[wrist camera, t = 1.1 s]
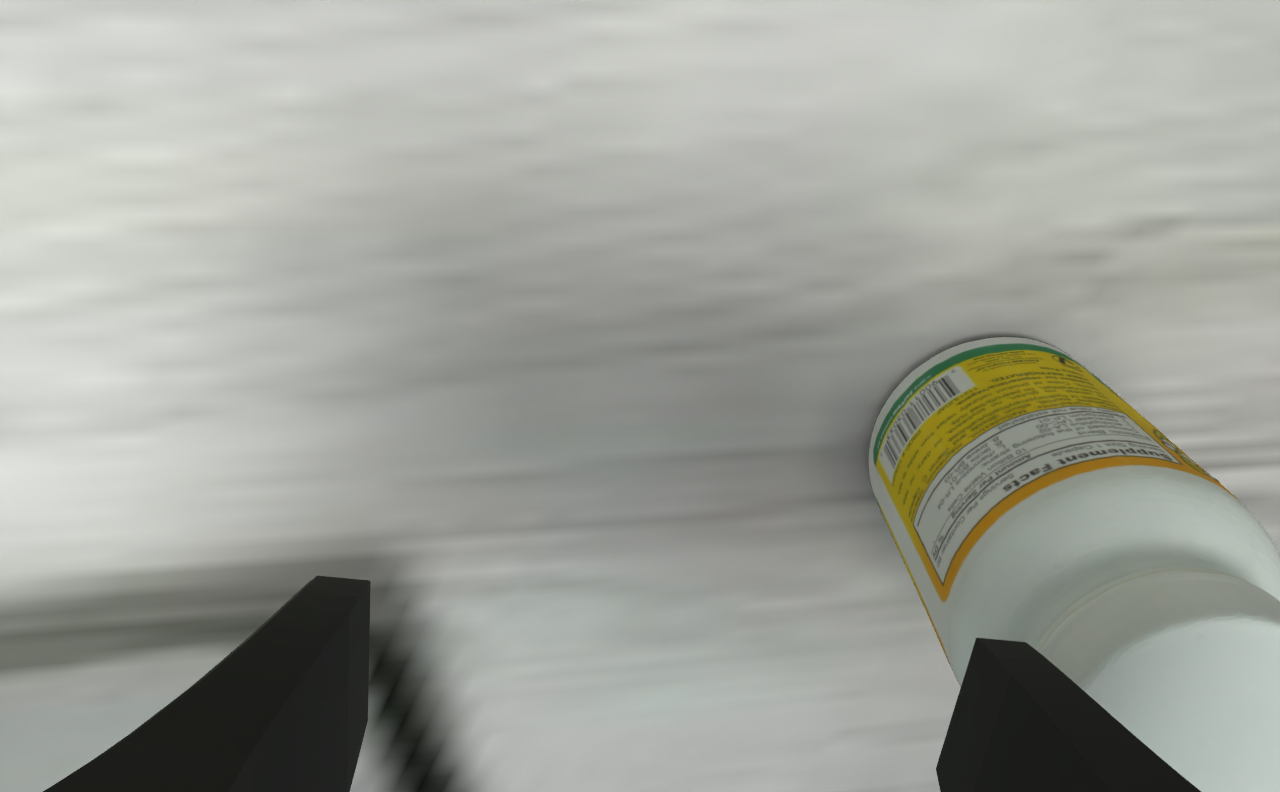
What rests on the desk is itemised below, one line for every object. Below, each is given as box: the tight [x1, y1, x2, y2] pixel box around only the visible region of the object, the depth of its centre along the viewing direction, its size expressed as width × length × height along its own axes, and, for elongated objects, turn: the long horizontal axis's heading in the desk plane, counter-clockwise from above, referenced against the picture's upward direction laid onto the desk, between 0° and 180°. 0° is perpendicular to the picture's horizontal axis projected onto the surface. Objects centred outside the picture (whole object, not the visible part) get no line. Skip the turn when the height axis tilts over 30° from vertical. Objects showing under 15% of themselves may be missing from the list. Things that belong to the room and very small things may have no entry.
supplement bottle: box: [869, 337, 1280, 792], centre depth 19 cm, size 5×5×10 cm
